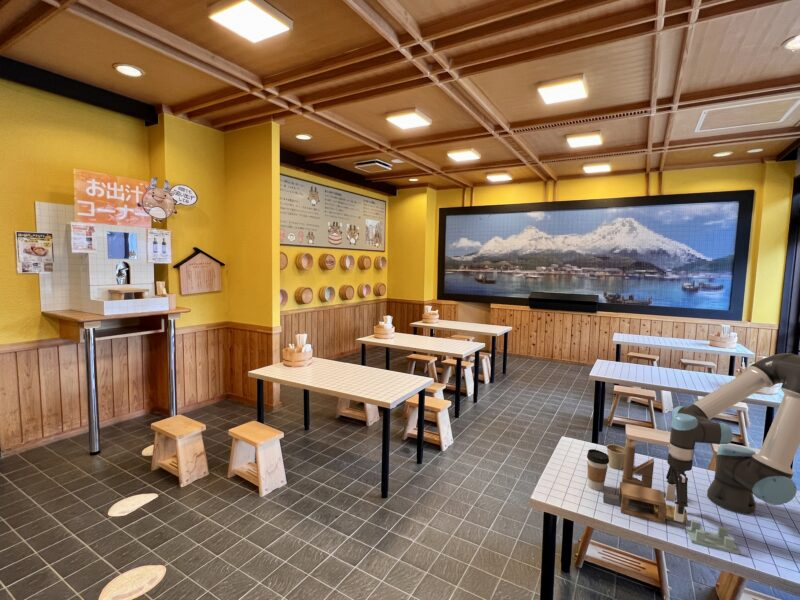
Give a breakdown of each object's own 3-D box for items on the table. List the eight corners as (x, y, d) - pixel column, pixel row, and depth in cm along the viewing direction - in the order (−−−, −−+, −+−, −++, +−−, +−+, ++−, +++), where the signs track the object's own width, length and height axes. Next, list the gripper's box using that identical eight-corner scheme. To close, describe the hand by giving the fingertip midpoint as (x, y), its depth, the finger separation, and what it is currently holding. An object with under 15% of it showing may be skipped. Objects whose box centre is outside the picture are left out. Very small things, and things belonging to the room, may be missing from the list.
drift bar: (651, 511, 154) (652, 504, 154) (653, 515, 152) (653, 508, 151) (602, 499, 161) (603, 492, 161) (603, 503, 159) (603, 496, 158)
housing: (658, 508, 155) (660, 490, 155) (664, 523, 147) (666, 503, 146) (618, 499, 161) (620, 481, 160) (621, 512, 152) (622, 493, 152)
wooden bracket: (651, 494, 166) (655, 452, 164) (621, 486, 171) (625, 445, 169) (650, 489, 169) (654, 449, 167) (621, 482, 174) (625, 442, 173)
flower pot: (627, 465, 189) (629, 447, 189) (626, 473, 181) (628, 455, 181) (605, 459, 194) (607, 442, 194) (603, 467, 186) (605, 449, 186)
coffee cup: (587, 479, 176) (590, 446, 174) (608, 486, 170) (611, 453, 169) (582, 487, 169) (585, 453, 168) (604, 495, 164) (607, 460, 162)
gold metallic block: (683, 514, 151) (685, 506, 148) (685, 526, 147) (687, 518, 144) (652, 506, 155) (654, 498, 152) (653, 518, 151) (655, 510, 149)
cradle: (729, 539, 139) (731, 528, 139) (738, 554, 132) (740, 542, 131) (685, 528, 144) (686, 517, 144) (691, 542, 137) (692, 531, 136)
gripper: (661, 440, 160) (655, 490, 162) (676, 469, 137) (669, 526, 139) (683, 444, 157) (677, 495, 159) (703, 474, 134) (695, 533, 136)
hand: (673, 510), depth 149 cm, fingers open, 13 cm apart
